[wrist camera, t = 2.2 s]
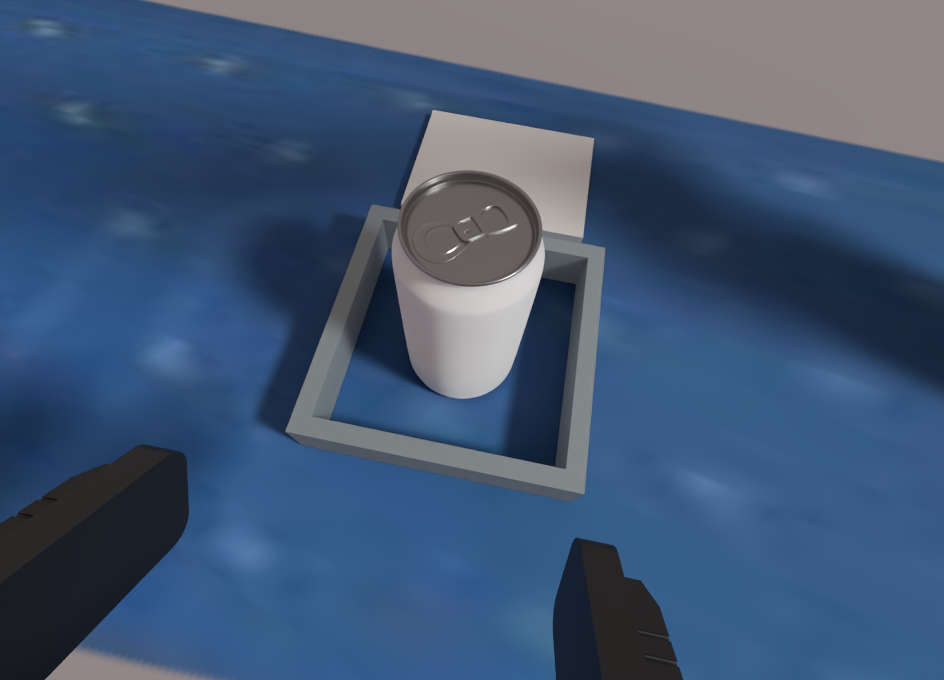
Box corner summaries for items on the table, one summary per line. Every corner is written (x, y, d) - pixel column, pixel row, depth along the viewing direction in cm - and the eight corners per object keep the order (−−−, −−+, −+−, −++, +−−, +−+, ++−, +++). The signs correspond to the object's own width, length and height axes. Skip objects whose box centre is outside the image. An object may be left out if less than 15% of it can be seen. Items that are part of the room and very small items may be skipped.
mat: (592, 144, 37) (594, 138, 36) (580, 243, 33) (582, 237, 32) (433, 116, 38) (433, 109, 37) (401, 209, 33) (400, 203, 33)
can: (391, 332, 29) (358, 194, 18) (481, 291, 31) (499, 143, 20) (439, 420, 27) (433, 323, 16) (533, 371, 28) (586, 252, 17)
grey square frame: (591, 274, 32) (605, 247, 29) (569, 501, 25) (584, 494, 22) (378, 234, 32) (371, 204, 29) (302, 445, 26) (285, 431, 23)
